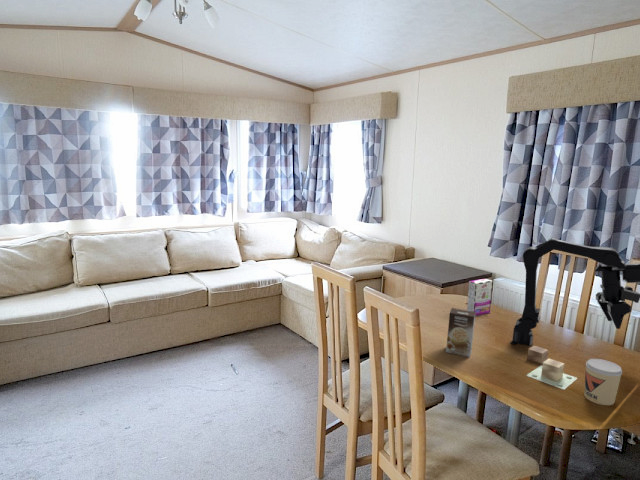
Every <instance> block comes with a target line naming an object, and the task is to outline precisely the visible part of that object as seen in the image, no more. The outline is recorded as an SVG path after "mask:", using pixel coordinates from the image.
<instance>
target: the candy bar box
mask: <svg viewBox="0 0 640 480" xmlns="http://www.w3.org/2000/svg"><path fill="white" fill-rule="evenodd" d="M467 290H468V291H467V304H466V306H467V307H466V310H467V311H472V312H475V317H477V316H482V315H487V314H490V313H491V305H492V304H491V303H492V295H493V294H492V293H493V280H492V279H488V278H482V279H481V278H480V279H475V280H469V281H468V289H467Z"/></svg>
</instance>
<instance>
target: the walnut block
mask: <svg viewBox="0 0 640 480" xmlns="http://www.w3.org/2000/svg"><path fill="white" fill-rule="evenodd" d="M548 353H549V349H547V348H543V347H541V346H537V345H533V346H532V345H531V347H529V348H528V350H527V357H526V358H527V360H529V361H532V362H535V363H538V364H541V365H543V362H544V361H546V360H547V359H548V355H549V354H548Z"/></svg>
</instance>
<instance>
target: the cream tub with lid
mask: <svg viewBox="0 0 640 480" xmlns="http://www.w3.org/2000/svg"><path fill="white" fill-rule="evenodd" d="M622 374H623V370H622V367H621V366H620V365H619V364H617V363H615V362H612V361H610V360H605V359H601V358H589V359H588V360H587V361H586V362H585V375H584V376H585V377H584V392H583V393H584V397H585V398H586V399H587V400H588V401H590V402H592V403H594V404H597V405H602V406H612V405H614V404H615V401H616V397H617V393H618V389H619V387H620V386H619V385H620V382H621V377H622Z"/></svg>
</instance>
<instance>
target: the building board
mask: <svg viewBox="0 0 640 480" xmlns="http://www.w3.org/2000/svg"><path fill="white" fill-rule="evenodd" d="M541 374H542V365H539V366H537V367H536V368H535V369H534V370H532V371H530V372H529V373H528V374H526V375H525V376H526V377H529V378H532V379H534V380H537V381H539V382H542V383H545V384H548V385H551V386H552V387H555V388H558V389H561V390H566V389H567V388H568V387H570V386H571V384H573V383H574V382H575V381H576V380H577V379H578V377H576V376H573V375H569V374H567V373H564V372H563V377H562V378H561V379H560V380H559V381H557V382H555V381H553V380H550V379H547V378H545V377H542V376H541Z"/></svg>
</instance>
